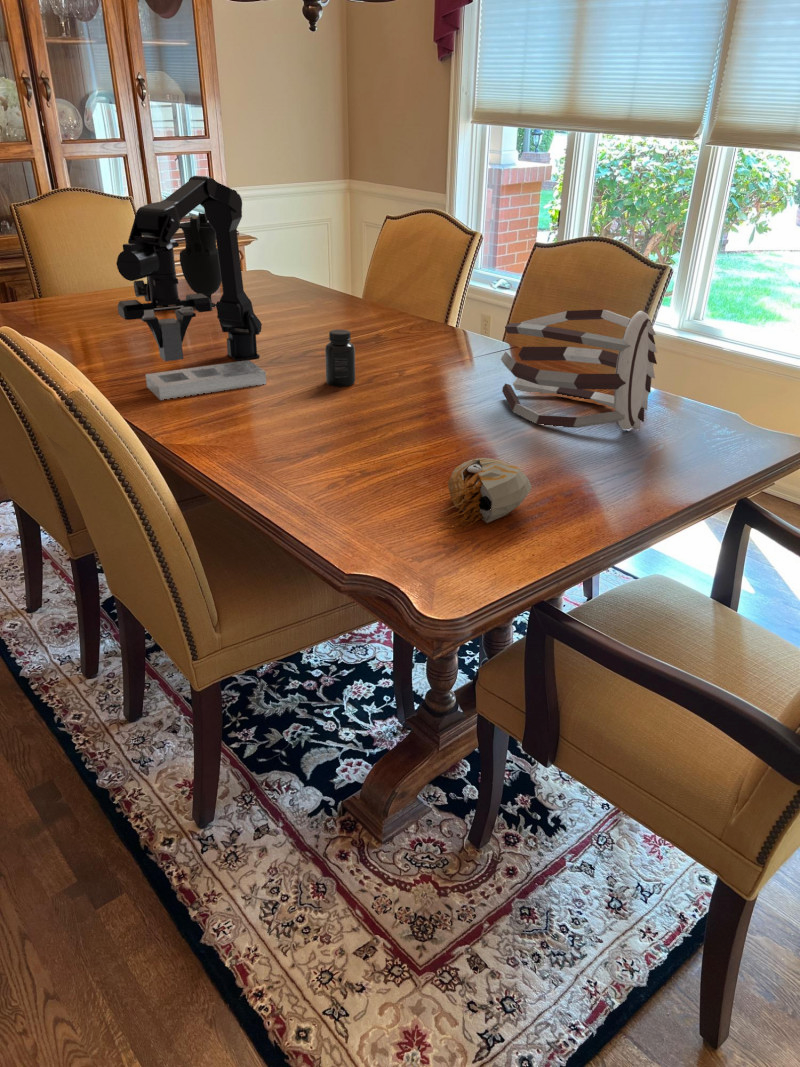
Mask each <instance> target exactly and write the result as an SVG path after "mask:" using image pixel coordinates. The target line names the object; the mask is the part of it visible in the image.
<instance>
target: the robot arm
mask: <svg viewBox="0 0 800 1067" xmlns="http://www.w3.org/2000/svg"><path fill="white" fill-rule="evenodd" d="M198 206H201V207H202V208H203V209H204V213H205V215H206V219H207V220H208V222H209V223H210V225H211V226H212V227H213V229H214V230H215V235H216V248H217V250H218V258H219V265H220V273H221V287H222V295H221V296H220V298H219V301H217V302H216V303H215V304H216V307H215V308H216V310H217V312H216V313H217V320H219V321H218V322H219V325H220V327H221V331H222V333H227V336H228V337H226V350H227V352H226V354H227V355H228V356H229V357H230V358H232V359H233V360H235V361H246V360H252V359H257V358H258V359H259V358H260V357H261V355H260V354H258V349H257V348H258V347H257V336H258V335H260V333H261V332H262V326H263V324H262V322H261V320H259V317H257V315H256V314H255V312H254V308H253V303H252V301H251V299H250V298H249V296H248V295H247V293H246V292H245V289H244V283H243V276H242V275H243V274H242V267H241V266H242V264H241V258H240V256H241V255H240V250H239V247H240V246H239V239H238V232H237V231H238V226H239V225H240V222H241V220H242V218H243V199H242V197H241V194H240V193H238V191H237V190H235V189H232V188H231V187H229V186H226V185H224V184H222V183H220V182H217V180H216V179H214V178H213V177H211V176H204V175H203V176H202V175H193V176H190V178H188V181H186V182H185V183H184V184H183V185H181V186H180V187H179V188H178V189H176V190H175V191H174V192H173V193H171V194H170V195H168V196H167V197H166V198H164V199H163V200H161V201H157V202H152V203H148V204H145V205H143V206H140V207H139V208H138V209H137V210H136V212H135V216H134V220H133V223H132V227H131V230H130V234H129V237H128V240H127V243H123V244H122V251H121V252H119V254H118V256H117V258H116V263H115V264H116V268H117V270H118V272H119V274H120V276H121V277H122V278H123V279H125V280H126V281H129V282H132V281H133V290H134V294H135V295H134V296H135V297H136V298H140V297H144V301H145V302H147V303H141V302H140V301H139V300H137V299H129V300H127V299H126V300H120V301H119V302H118V303H117V312H118V315H119V316H120V317H121V318H122V319H124V321H131V320H132V321H133V320H141V321H142V322H143V323H146V325H147V326H148V328H149V329H150V331H151V333H152V336H153V337H154V340H155V342H156V344H157V346H158V349H159V348H162V340H161V334H160V328H159V322H158V320H159V318H158V317H157V316H156V315H155V312H166V311H167V312H168V311H174V312H175V314H174V315H175V317H176V318H175V319H176V320H177V321H178V322H180V331H181V340H182V343H183V342H184V339H185V336H186V334H187V330H188V327H189V325H190V323H191V321H192V319H193V318H195V317H197V314H196V313H195V312H194V309H195V310H196V311H197V312H198V313H205V312H208V313H209V312H212V311H213V308H212V303H213V302H211V300H212V298H211V299H209V298H208V297H207V296H205V295H203V294H202V293H200V294H197V293H191V294H186V296H185V298H184V299H181V298H179V291H178V290H179V289H178V284H179V279H178V278H177V271H176V263H175V252H174V248H177V247H179V246H180V244H179V243H178V242H177V240H176V239H174V236H175V235H176V233H177V232H178V231H179V229H180V223H181V221H182V219H183V218H185V217H186V216H187V215H188V214H190V213H191V212H192V211H194V210H195V208H197V207H198ZM145 278H146V283H145V281H144V280H142V279H145ZM140 279H141V280H140Z"/></svg>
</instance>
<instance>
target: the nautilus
mask: <svg viewBox="0 0 800 1067" xmlns="http://www.w3.org/2000/svg"><path fill="white" fill-rule="evenodd" d="M447 487H448V491H449V492H447V493H445V494H442V495H440V496H438V498H441V497H444V496H448V495H449V496H450V498H447V499H445V500H443V502H447V501H450V500H451V501H452V503H453V505H452V506H450V507H448V508H446V509H443V510H442V511H439V512H438V514H440V513H443V512H447V511H449V510H450V509H453V508H456V509H458V511H457V512H453V513H451V514H449V515H446V516H445V517H442V518H439V519H436V520H432V522H434V523H435V522H437V523H440V522H443V521H448V520H452V519H454V518H456V517H458V516H460V515H461V516H462V517H461V518H459V519H456V520H454V521H452V522H449V523H445V524H444V526H446V527H447V528H442V529H439V530H436V532H442V531H444V530H448V529H450V527H451V528H453V530H452V531H451V532H450V533H454V531H455V530H456V529H457V528H458V526H459V525H464V526H466V525H469V526H470V525H472V524H475V523H476V522H477V521H479V520H482V521H484V522H485V523H486V524H488V523H491V522H493V521H495V520H497V519H500V518H502V517H505V516H507V515H508V514H510V513H511V512H512V511H513V510H515V509H516V508H518V507H519V506H521V504H522V502H523V501H524V500H525V498H526V497H527V496H528V495H529V494H530V492H531V490H532V484H531V482H530V480H529V478H528V477H527V475H526V474H525V473H524V472H523V471H522V470H520V468H519V467H518V466H516V465H513V464H510V463H508V462H506V461H503V460H500V459H496V458H488V457H479V458H478V457H477V458H471V460H468V461H465V462H463V463H461V464H459V465H458V466H456V467H455V468H454V469H453V472H452V473H451V476H450V477H449V478H448V481H447ZM490 509H491V510H490ZM460 512H461V513H460ZM480 518H481V519H480ZM465 522H466V523H465ZM470 522H471V523H470ZM451 524H452V525H451ZM447 525H450V526H447ZM452 526H456V527H452ZM459 527H460V526H459Z"/></svg>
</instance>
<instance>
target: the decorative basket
mask: <svg viewBox="0 0 800 1067" xmlns="http://www.w3.org/2000/svg"><path fill="white" fill-rule="evenodd" d="M584 320H585V321H587V320H605V321H608V322H611V323H613V324H616V325H619V326H621V327H625V328H626V329H625V331H624V333H623V336H622V338H617V337H613V336H607V335H603V334H602V335H601V334H598V333H597V334H596V333H590V332H585V331H580V330H579V331H578V330H574V329H568V328H561V327H555V326H550V325H555V324H558V323H562V322H567V321H584ZM504 328H505V331H506V334H513V335H515V334H516V335H522V336H523V335H524V336H530V337H531V336H532V337H537V338H538V337H539V338H546V339H551V340H557V341H563V342H569V343H575V344H579V345H586V346H590V347H591V346H592V347H597V348H601V349H597V348H589V347H588V348H587V347H576V346H575V347H574V346H522V347H521V349H520V350H519V353H518V357H519V358H520V360H521V361H536V362H537V361H540V362H541V361H543V362H544V361H546V362H547V361H550V362H551V361H561V362H562V361H565V362H567V361H568V362H578V363H586V364H587V363H589V364H599V365H603V366H607V367H612V368H614V369H615V373H575V372H565V371H556V370H554V371H553V370H546V369H540V368H536V367H532V366H530V365H527V364H523V363H520V362H517V361H515V360H514V358H513V357H512V356H510V354H509V353H508V352H507V351H504V353H503V354H502V356H501V358H500V360H501V362H502V363H503V365H504V366H505V367H506V368H507V369H508V370H509V372H510V373H511V374H512V375H513V376H514V377H515V378H516V379H515V381H514V382H512V385H513V387H514V389H515V390H516V391H519V392H525V391H526V393H531V392H540V393H556V394H562V395H567V396H573V397H579V398H584V399H591V400H594V401H596V402H599V403H602V404H605V405H608V406H610V407H613V408H615V409H614V411H608V412H602V413H601V412H600V413H594V414H589V415H582V416H577V417H576V416H559V415H542V414H540V413H538V412H535V411H534V410H533V409H530V408H529V407H526V406H524V405H523V404H521V402H520V400H519V398H518V396H517V395H516V393H515V390H514V389H513V387H512V385H511V384H508V383H504V385H503V386H502V389H501V391H502V394H503V396H504V398H505V400H506V401H507V403H508V406H509V408H510V409H511V411H513V414H516V413H517V414H516V415H518V416H520V415H521V416H520V417H522V416H523V417H522V418H524V419H526V420H528V421H530V422H531V421H532V422H531V423H533V422H534V423H533V424H535V423H536V425H538V424H544V425H553V426H552V427H556V426H563V427H562V428H573V429H575V428H576V429H578V428H580V429H581V428H585V427H593V426H599V425H605V424H611V423H616V422H618V425H619V427H620V429H621V428H623V429H630V428H633V429H634V430H636V429H639V430H640V422H642V423H644V422H645V410H646V411H648V404H649V403H648V402H649V401H648V400H649V395H650V394H651V390H652V389H651V388H652V387H651V386H652V380H654V379H656V376H655V370H654V366H655V365H654V364H656V365H657V364H658V363H657V359H656V355H655V354H658V351H657V347H656V342H655V339H654V338H655V336H657V334H656V332H655V329H654V327H653V325H652V322H651V319H650V316H649V314H648V313H646V312H645V311H643V310H639V311H637V312H636V313H635V314H634V315H633V316H632V317H631V318H629V317H627V316H624V315H621V314H618V313H615V312H613V311H611V310H607V309H586V310H585V309H582V310H580V309H579V310H564V311H562V312H561V311H560V312H556V313H552V314H548V315H544V316H540V317H536V318H533V319H532V318H531V319H528V320H524V321H521V322H509V323H508V324H507V325H505V326H504ZM605 349H607V350H605ZM609 350H611V351H609ZM612 350H613V351H618V353H615V352H612ZM592 390H613V391H614V394H613V395H612V394H607V393H602V392H599V391H592Z"/></svg>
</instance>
